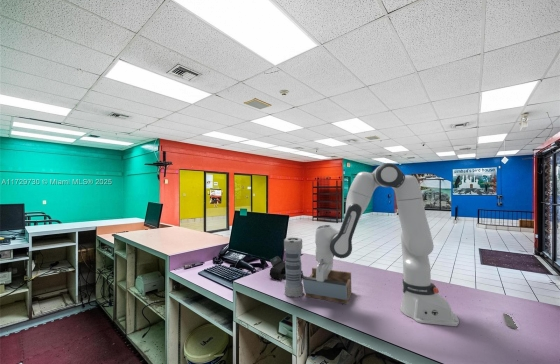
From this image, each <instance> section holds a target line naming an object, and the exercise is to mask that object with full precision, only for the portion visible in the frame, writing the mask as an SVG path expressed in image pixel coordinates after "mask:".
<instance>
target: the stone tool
mask: <svg viewBox="0 0 560 364" xmlns="http://www.w3.org/2000/svg"><path fill="white" fill-rule="evenodd" d="M507 314H508V313H507ZM507 314H504V313H503V320H504V322H505V324H506V326H507V327H508V328H509V327H511V328H510V329H512V328H514V329H513V330H515V329H517V328H518V327H517V326H516V324H514V323H515V322H514V321H513V319H512V317H510V316H509V315H507Z"/></svg>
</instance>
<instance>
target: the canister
mask: <svg viewBox="0 0 560 364" xmlns="http://www.w3.org/2000/svg"><path fill="white" fill-rule="evenodd" d="M283 248H284V250H285V251H284V252H285V254H284V255H285V261H284V262H285V266H286V274H285V276H286V280H285V283H284V294H285V295H286V296H287V297H289V298H298V297H299V296H300V297H301V296H303V295H304V294H303V293H304V285H303V278H302V279H301V271H303V270H302V260H301V256H302V249H303V239H302V238H301V237H293V236H292V237H285V238H284V239H283ZM300 297H299V298H300Z"/></svg>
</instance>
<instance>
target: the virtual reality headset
mask: <svg viewBox="0 0 560 364" xmlns="http://www.w3.org/2000/svg"><path fill="white" fill-rule="evenodd" d="M269 263H270V264H271V265H272V266H271V268H270V269H269V276H270V278H273V279H276V280H278V281H280V280H284V281H286V266H285V261H283V260H282V259H281V257H279V256H278V255H277V256H274V257H273V258H271V259H269ZM303 276H304V273H303V270H302V271H301V279H302V280H303Z"/></svg>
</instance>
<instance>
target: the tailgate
mask: <svg viewBox="0 0 560 364" xmlns="http://www.w3.org/2000/svg"><path fill="white" fill-rule="evenodd" d="M302 284H303V293H305V294H306V293H309V294H315V295H321V296H327V297H332V298H338V299H344V300H347V287H346V282H340V281H333V280H326V279H325V280H324V281H323V282H320V281H317V280H316V278H312V277H309V276H304V275H303V278H302Z"/></svg>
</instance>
